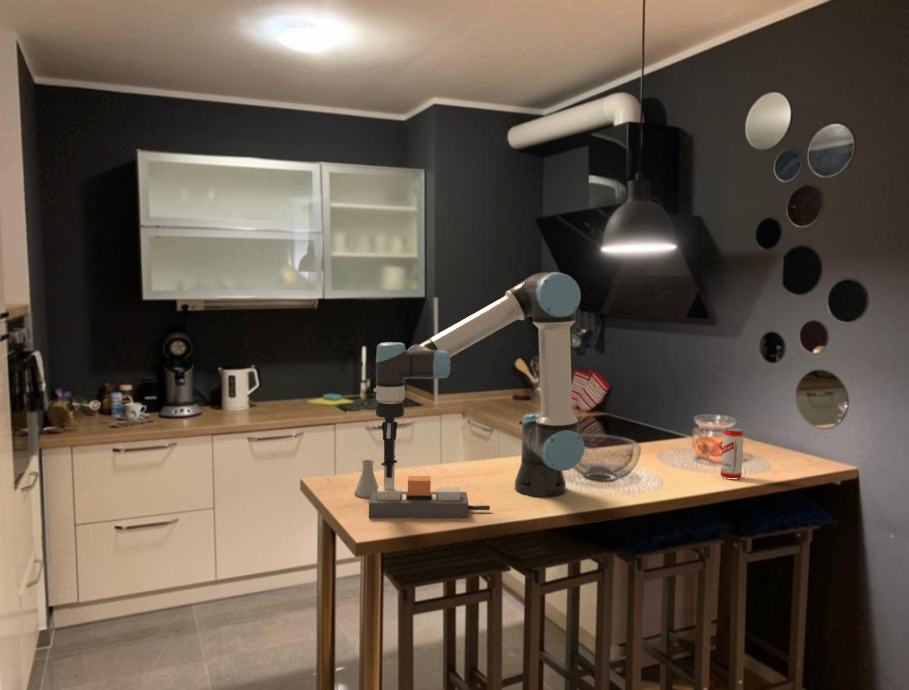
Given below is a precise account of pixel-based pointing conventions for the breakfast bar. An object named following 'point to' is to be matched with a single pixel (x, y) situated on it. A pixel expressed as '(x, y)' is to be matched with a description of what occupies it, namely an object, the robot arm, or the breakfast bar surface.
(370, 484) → the flask
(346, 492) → the breakfast bar surface
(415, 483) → the switch
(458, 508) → the power strip
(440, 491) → the switch
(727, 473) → the beer can
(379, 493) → the switch
